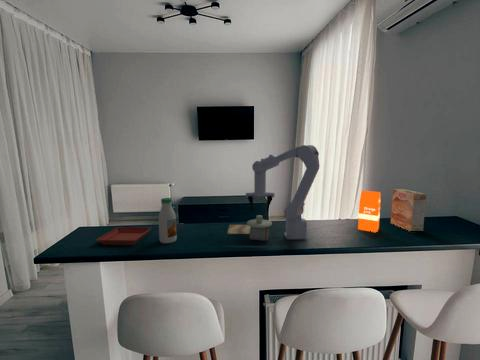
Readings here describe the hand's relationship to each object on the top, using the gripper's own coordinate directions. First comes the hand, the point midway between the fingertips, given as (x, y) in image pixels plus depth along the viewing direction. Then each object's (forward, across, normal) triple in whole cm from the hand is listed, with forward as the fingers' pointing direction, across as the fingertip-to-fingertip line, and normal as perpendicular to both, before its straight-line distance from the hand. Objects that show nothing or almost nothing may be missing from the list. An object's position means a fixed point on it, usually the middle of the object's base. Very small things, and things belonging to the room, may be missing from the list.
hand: (259, 210), depth 130 cm
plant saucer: (+11, +64, +13) cm, 67 cm away
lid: (+3, +1, +14) cm, 14 cm away
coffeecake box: (+11, -78, -4) cm, 79 cm away
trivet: (+10, +9, +2) cm, 14 cm away
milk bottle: (+10, +44, +15) cm, 47 cm away
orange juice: (+11, -57, -2) cm, 58 cm away
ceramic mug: (+11, +1, +13) cm, 17 cm away
